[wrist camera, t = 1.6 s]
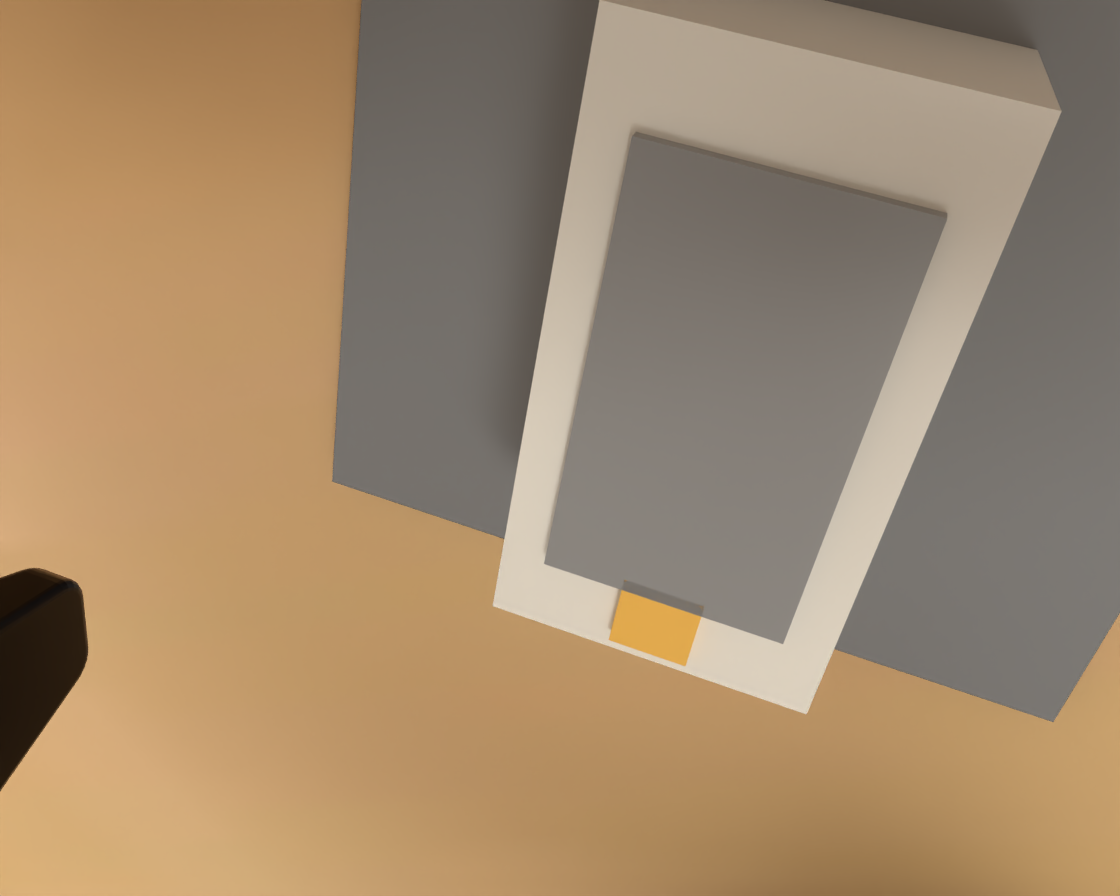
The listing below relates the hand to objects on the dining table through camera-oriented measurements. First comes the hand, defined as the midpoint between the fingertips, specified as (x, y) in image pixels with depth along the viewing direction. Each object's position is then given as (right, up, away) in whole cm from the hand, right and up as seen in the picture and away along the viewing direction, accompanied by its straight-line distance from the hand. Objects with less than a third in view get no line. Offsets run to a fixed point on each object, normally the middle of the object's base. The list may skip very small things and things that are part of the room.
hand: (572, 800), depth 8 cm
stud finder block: (+3, +5, +8) cm, 10 cm away
